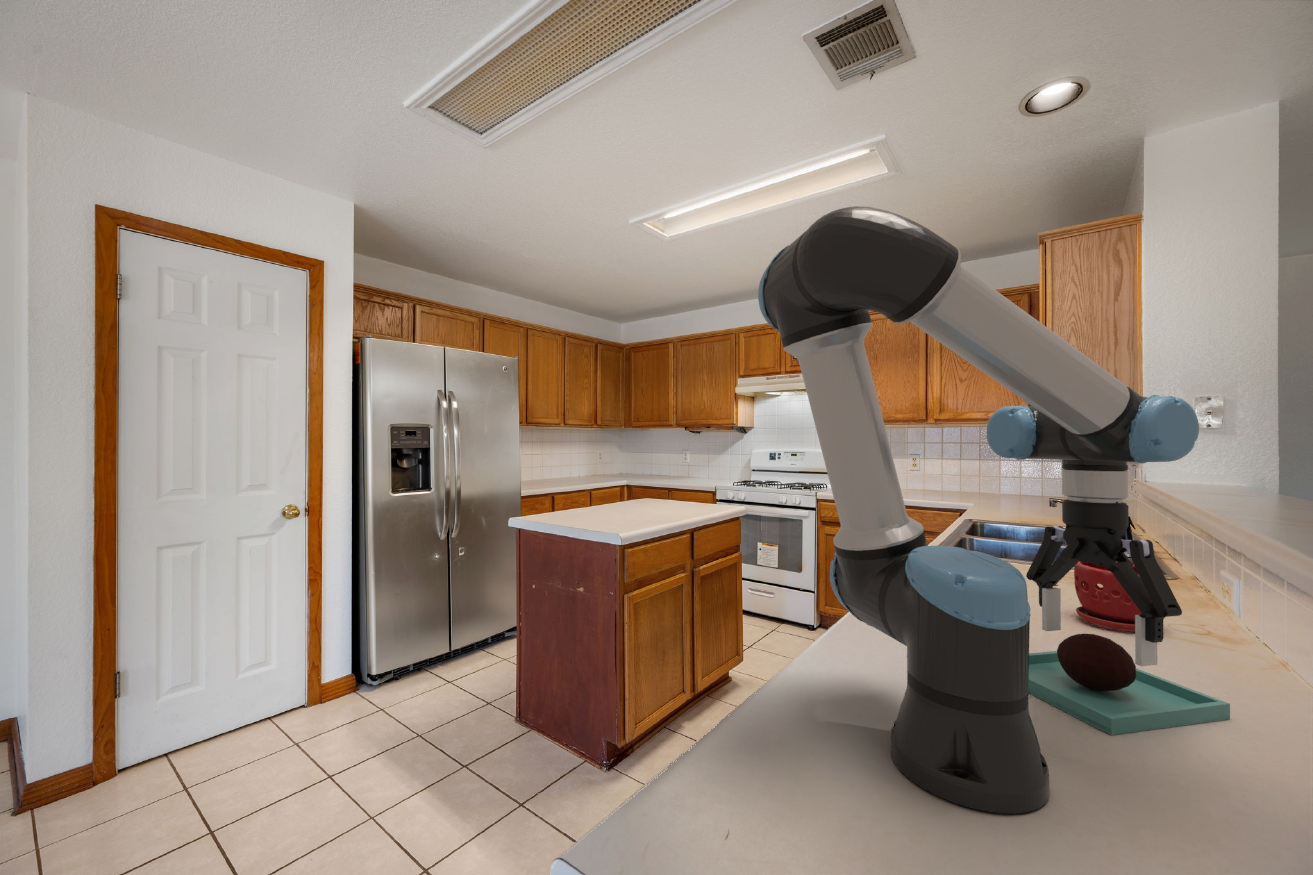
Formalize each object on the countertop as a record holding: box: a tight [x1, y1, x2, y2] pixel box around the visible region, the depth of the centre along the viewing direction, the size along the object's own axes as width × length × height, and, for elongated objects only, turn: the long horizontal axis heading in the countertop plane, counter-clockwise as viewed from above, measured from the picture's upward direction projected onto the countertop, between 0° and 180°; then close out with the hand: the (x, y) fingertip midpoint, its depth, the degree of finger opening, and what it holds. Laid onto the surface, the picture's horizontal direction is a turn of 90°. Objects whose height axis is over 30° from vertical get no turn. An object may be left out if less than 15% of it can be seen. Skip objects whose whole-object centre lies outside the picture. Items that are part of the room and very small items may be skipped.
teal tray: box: [1028, 650, 1231, 736], centre depth 78 cm, size 20×20×2 cm
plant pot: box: [1073, 561, 1142, 633], centre depth 108 cm, size 13×13×12 cm
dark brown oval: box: [1056, 633, 1137, 691], centre depth 78 cm, size 8×9×8 cm
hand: (1094, 645), depth 78 cm, fingers open, 13 cm apart
